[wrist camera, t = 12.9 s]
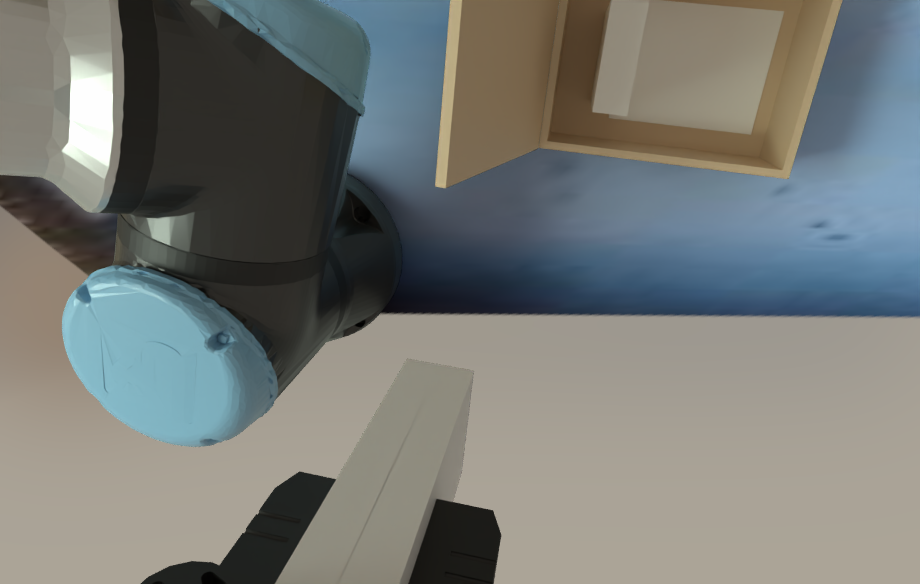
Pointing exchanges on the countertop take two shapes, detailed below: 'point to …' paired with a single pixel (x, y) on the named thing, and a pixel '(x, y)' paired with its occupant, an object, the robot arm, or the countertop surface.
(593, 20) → the base
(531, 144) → the lid
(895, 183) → the countertop surface
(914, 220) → the countertop surface
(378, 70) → the countertop surface
